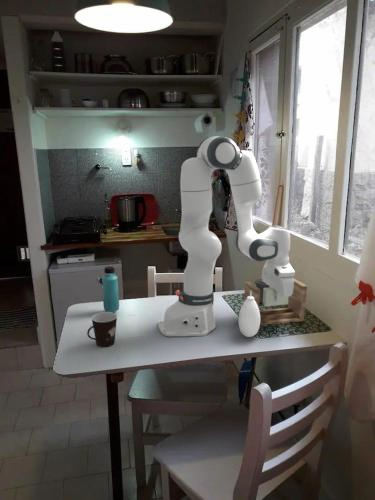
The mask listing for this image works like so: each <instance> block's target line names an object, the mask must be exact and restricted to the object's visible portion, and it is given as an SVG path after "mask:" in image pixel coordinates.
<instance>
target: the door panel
mask: <svg viewBox="0 0 375 500" xmlns="http://www.w3.org/2000/svg"><path fill="white" fill-rule="evenodd" d="M276 295H277V293H276V291H275V290H274V289H273V288H271V287H270V288H264V289H263V303H262V305H263V306H264V307H265V308H266V307H272V306H273V307H274V306H275V307H276V306H283V305H285V306H286V305H288V296H286V297H284V296H281V300H280V301H276V300H275V296H276Z"/></svg>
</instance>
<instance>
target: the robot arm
mask: <svg viewBox="0 0 375 500" xmlns="http://www.w3.org/2000/svg"><path fill="white" fill-rule="evenodd" d="M215 170H225V171H226V174H227V175H228V180H229V185H230V190H231V195H232V199H233V204H234V214H235V221H236V227H237V230H236V231H237V233H236V238H235V247H236V249H237V251H238V252H239V253H240V254H242V255H245V256H247V257H248V258H249V259H251V260H252V261H255V262H263V261H264V265H263V266H262V267H263V268H262V271H261V279H262V281H263V282H265V283H266V284H267V285H269V288H270V287H271V288H273V289H274V290H275V291H276V293H277V295H276V296H275V300H276V301H280V300H281V296H284V297H286V296H291V295H292V294H293V288H294V277H295V275H296V271H295V270H294V268H293V266H292V265H291V263H290V255H289V253H290V250H291V232H290V230H289V229H288V228H286V227H284V226H281V225H275V224H274V225H270V226H269V227H268V228H267V229H266V230H264V231H262V232H260V233H257V232H256V230H255V228H254V224H253V223H254V222H253V215H252V208H253V206H254V205H255V204H256V203H257V202H259V200H260V199H261V198H262V192H263V191H262V180H261V176H260V171H259V170H260V169H259V167H258V164H257V162H256V158H255V155H254V154H253V152H251V151H249V150H241V149H240V147H239V146H238V145H237V143H236V142H235V141H234V140H233V139H231V138H230V137H226V136H219V135H214V136H211V137H210V136H209V137H206V138H205V139H203V140H202V141H201V142H200V143H199V145H198V147H197V149H196V152H195V154H194V156H193V157H190V158H188V159H186V160H185V161H183V163H182V165H181V170H180V182H179V184H180V185H179V186H180V200H181V201H180V202H181V218H180V220H181V221H180V227H179V228H180V229H179V232H178V241H179V243H180V246H181V247H182V249H183V250H184V251H186V252H187V263H186V266H185V269H184V271H183V290H182V291H180V290H179V289H177V290H176V291H175V292H174V293H175V295H176V297H178V300H177V301H175V302H174V303H172V304H171V305H170V306H168V307H167V308H166V309H165V312H164V315H163V318H161V319H159V321H158V323H157V327H158V330H159V333H161V334H162V335H163V336H165V337H205V336H207V335H209V333H210V332H211V331H213V330H215V328H216V327H217V326H216V325H217V324H216V321H215V317H214V309H213V307H214V301H215V297H214V295H215V294H214V289H213V283H214V272H215V271H214V270H215V266H216V262H217V259H218V258H219V257H220V255H221V253H222V248H223V247H222V246H223V245H222V242H221V241H220V239H219V237H218V236H217V235H216V234H215V233H214V232H212V231H211V230H209V222H210V217H211V214H212V212H213V196H212V175H213V172H214V171H215Z"/></svg>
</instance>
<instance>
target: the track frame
mask: <svg viewBox="0 0 375 500" xmlns="http://www.w3.org/2000/svg"><path fill="white" fill-rule="evenodd" d="M293 278H294V277H293ZM307 290H308V285H306V284H305V283H303V282H302V281H299V280H298V279H296V278H294V288H293V294H292V295H291V296H288V304H287V307H282V308H274V309H273V308H271V309H263V310H262V309H261V310H260V304H261V303H260V289H258V288H257V287H256V284H253V283H252V282H251V281H245V283H244V298H243V299H244V301H243V303H244V302H245V300H246V299H247V297H248V296H250V292H251V296H253V297H254V300H255V301H256V303H257V305H258V308H259V312H260V325H264V326H267V325H266V324H273V325H280V324H279V323H282V324H289V323H290V322H292V323H299V322H300V321H301V322H304V321H305V312H306V300H307Z"/></svg>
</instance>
